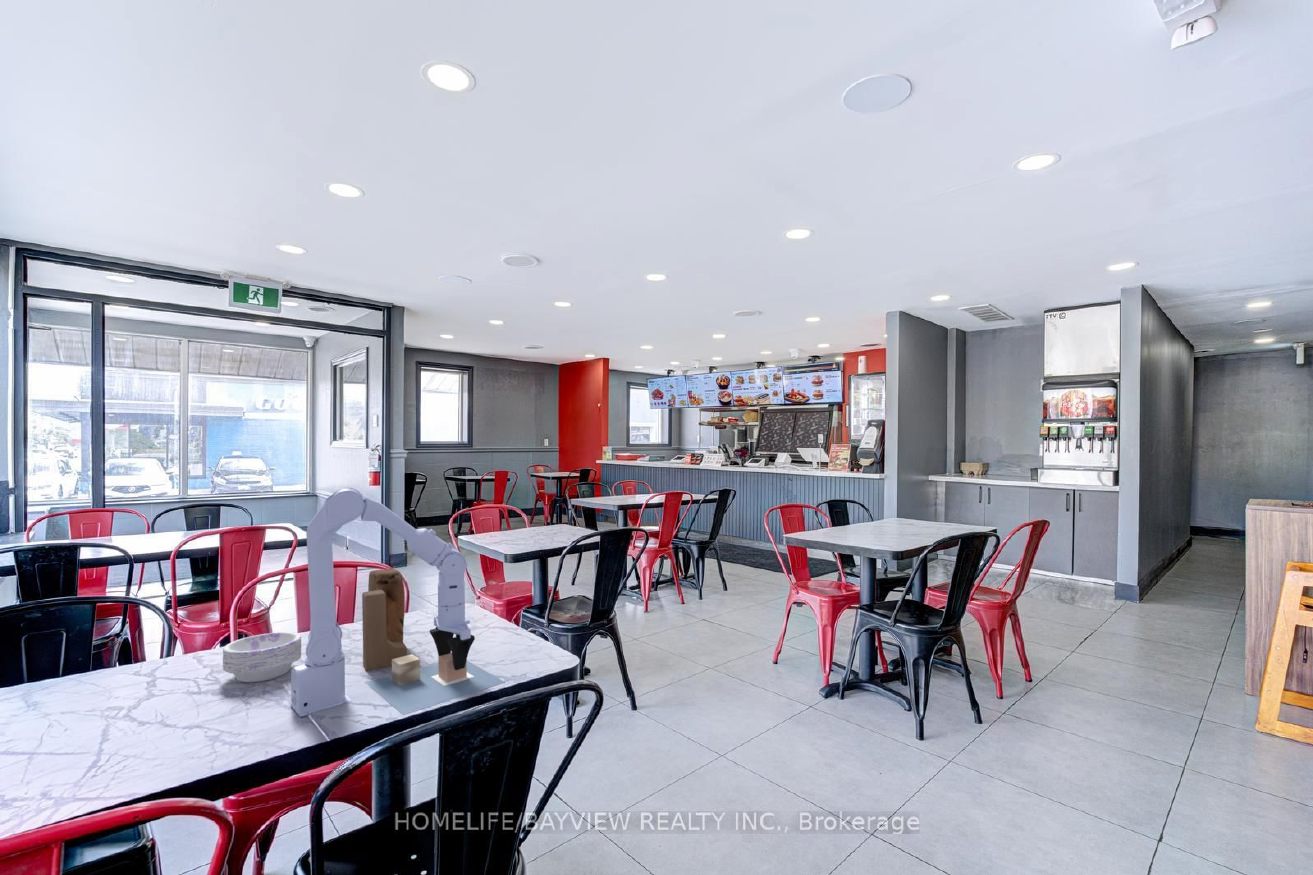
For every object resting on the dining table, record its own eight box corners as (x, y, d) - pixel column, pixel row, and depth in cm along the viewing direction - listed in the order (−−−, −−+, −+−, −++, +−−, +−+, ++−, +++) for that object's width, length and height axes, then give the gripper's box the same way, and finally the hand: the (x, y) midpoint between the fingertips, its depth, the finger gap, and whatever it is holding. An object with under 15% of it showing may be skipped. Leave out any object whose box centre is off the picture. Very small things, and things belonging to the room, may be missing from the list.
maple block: (399, 685, 131) (399, 664, 131) (392, 679, 135) (391, 659, 135) (420, 679, 135) (419, 659, 135) (412, 674, 138) (412, 654, 138)
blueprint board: (403, 717, 117) (403, 714, 117) (365, 684, 134) (365, 681, 134) (505, 684, 133) (505, 681, 133) (460, 658, 149) (460, 656, 149)
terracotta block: (447, 682, 133) (447, 661, 133) (438, 676, 136) (438, 656, 136) (466, 676, 136) (466, 656, 136) (457, 671, 139) (457, 651, 139)
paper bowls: (283, 658, 151) (282, 626, 151) (314, 671, 142) (313, 637, 142) (211, 679, 138) (210, 644, 138) (240, 694, 129) (240, 657, 129)
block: (366, 645, 159) (365, 569, 159) (396, 639, 164) (395, 565, 164) (377, 657, 150) (375, 576, 150) (408, 650, 155) (407, 572, 155)
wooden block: (403, 659, 149) (402, 586, 148) (407, 665, 145) (406, 590, 145) (362, 668, 143) (361, 592, 143) (366, 674, 140) (365, 596, 140)
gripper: (483, 606, 133) (484, 668, 133) (454, 594, 144) (454, 651, 144) (452, 612, 128) (453, 676, 128) (424, 599, 139) (425, 659, 139)
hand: (452, 664), depth 136 cm, fingers open, 7 cm apart
